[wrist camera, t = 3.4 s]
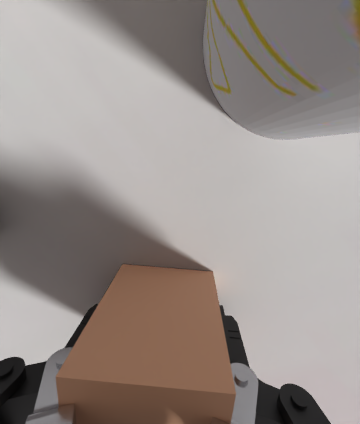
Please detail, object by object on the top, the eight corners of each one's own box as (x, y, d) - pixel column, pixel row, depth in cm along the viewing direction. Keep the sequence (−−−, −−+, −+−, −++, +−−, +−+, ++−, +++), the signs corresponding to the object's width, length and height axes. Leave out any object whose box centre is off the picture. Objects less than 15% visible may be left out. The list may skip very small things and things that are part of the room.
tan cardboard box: (212, 271, 13) (236, 394, 6) (204, 344, 14) (215, 504, 8) (122, 264, 13) (55, 376, 6) (122, 337, 14) (68, 488, 8)
